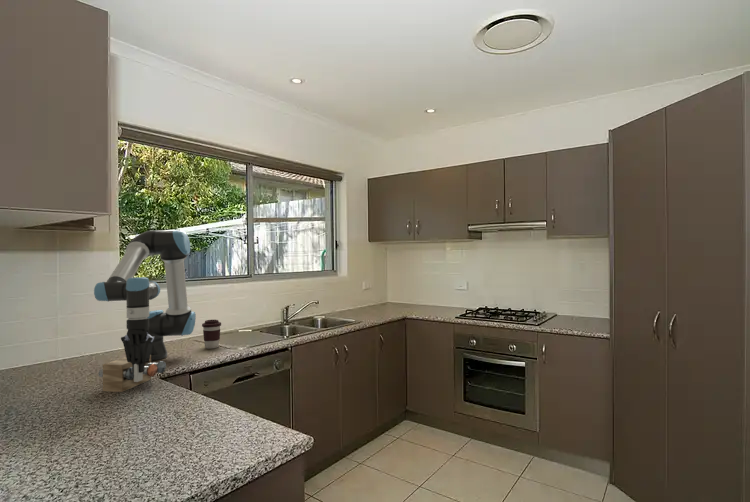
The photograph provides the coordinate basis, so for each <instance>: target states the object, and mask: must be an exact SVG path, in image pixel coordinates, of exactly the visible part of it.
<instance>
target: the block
mask: <svg viewBox="0 0 750 502" xmlns="http://www.w3.org/2000/svg"><path fill="white" fill-rule="evenodd" d="M145 363H152V361H151V355H150V359H149V361H147V362H145ZM128 368H132V363H131V362H127V358H126V356H124V357H121V358H119V359H116V360H112V361H110V362H106V363H103V364H102V369H103V377H102V392H112V393H113V392H114V393H116V392H117V393H122V392H126V391H127V390H130V389H132V388H135V387H137V386H138V385H142V384H144V383H146V382H148V381H151V380H152V377H149V376H148V375H147V374H143V380H141V381H139V382H134V379H133V380H127V379H126V378H123V370H124V369H125V370H127V369H128Z"/></svg>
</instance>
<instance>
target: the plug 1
mask: <svg viewBox="0 0 750 502" xmlns="http://www.w3.org/2000/svg"><path fill="white" fill-rule="evenodd" d="M97 374H98V377H99V378H103V368H101V369H99V371H98V373H97ZM123 378H126V379H127V380H133V379H134V372H133V371H132V368H128V369H127V370H125V369H124V370H123Z"/></svg>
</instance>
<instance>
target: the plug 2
mask: <svg viewBox="0 0 750 502" xmlns="http://www.w3.org/2000/svg"><path fill="white" fill-rule="evenodd" d="M151 364H155V365H156V366H157V373H158V374H162V373H164V372H165V370H166V367H167V364H166V361H164V360H162V361H161V360H160V361H158V362H151V363H144V366H150V365H151Z"/></svg>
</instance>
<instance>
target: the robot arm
mask: <svg viewBox="0 0 750 502" xmlns="http://www.w3.org/2000/svg"><path fill="white" fill-rule="evenodd" d="M190 252H191V242H190V237H189V235H188V233H187V232H186V231H184V230H178V229H165V230H163V229H160V230H159V229H158V230H157V229H156V230H153V229H151V230H146V231H144V232H141V233H139V234H138V235H137V236H135V237H133V238H132V239H131V240H130V241H129V242H128V244H127V245H126V249H125V253H124V255H123V256H122V257H121V259H120V261H119V262H118V264H117V265H116V266H115V268H114V269H113V271H112V273H111V274H110V276H109V278H107V280H106V281H102V282H101V281H100V282H98V283H96V284H95V286H94V288H93V294H94V298H95V300H96V301H98V302H122V301H123V302H124V301H126V318H127V319H126V330H127V331H126V334H125V335H124V336H121V337H120V340H121V342H122V343H123V348H124V353H125V357H126V358H127V362H131V363H132V371H133V372H134V382H139V381H141V380H143V372H144V363H145V362H147V361H149V359H150V355H151V362H152V361H157V360H161V359H165V358H167V357H168V350H167V347H166V345H165V341H164V337H177V336H181V337H182V336H189V335H191V334H192V333H193V331H194V329H195V325H196V318H197V317H196V312H195V311H192V307H191V306H189V305H188V297H187V296H188V294H187V283H186V281H187V280H186V272H185V270H186V269H185V260H186V259H187V257H188V256H187V255H189V254H190ZM151 255H157V256H159V257H160V260H161V261H162V262H164V271H165V273H164V274H165V281H166V292H167V303H168V308H166V309H165V312H164V309H158V310H157V309H156V310H151V311H150V300H153V299H155V298H157V297H158V296H159V295H160V292H161V286H160V284H158V282H157V281H154V280H149V277H138V276H137V277H134V276H135V274H136V273H137V271H138V269H139V267H140V266H141V265H142V263H143V260H145V259H147V258H148V257H149V256H151Z"/></svg>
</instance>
